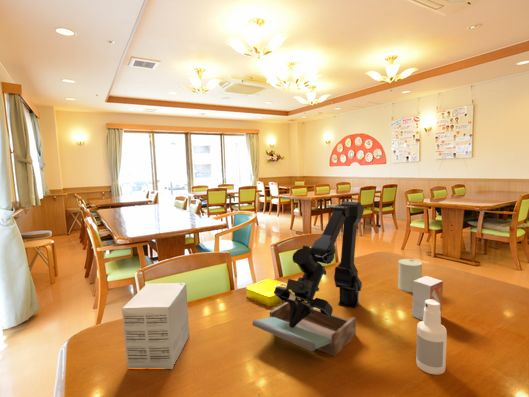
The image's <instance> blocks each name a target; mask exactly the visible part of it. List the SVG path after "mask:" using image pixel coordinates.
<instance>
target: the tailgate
mask: <svg viewBox="0 0 529 397" xmlns="http://www.w3.org/2000/svg"><path fill="white" fill-rule="evenodd" d="M252 326H253V327H255V328H258V329H260V330H261V331H265V332H267V333H269V334H271V335H273V336H276V337H278V338H280V339H283V340H285V341H287V342H289V343H291V344H294V345H297V346H299V347H301V348H304V349H306V350H308V351H310V352H312V353H313V352H315V351H316V350H318V349H317V348H320V347H322V346H324V345H327V344H329V343H330V338H327V337H324V336H322V335H319V334H317V333H314V332H312V331H309V330H306V329H304V328H301V327H299V326H295V327H294V328H291V327H290V326H289V323H288V322H286V321H283V320H281V319H278V318H276V317H270V316H269V317H265V318H261V319H257V318H256V319H254V320H253V321H252Z"/></svg>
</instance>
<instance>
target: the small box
mask: <svg viewBox="0 0 529 397" xmlns="http://www.w3.org/2000/svg"><path fill="white" fill-rule="evenodd" d="M443 288H444V280H441V279H437V278H434V277H431V276H428V275H425V276H422V278H419V279H417V280H414V281H413V293H412V310H411V313H412V314H411V315H412V317H414V318H416V319H418V320H421V321H423V316H424V308H425V300H427V299H433V300H435V301H436V302H438V303H439V304H440V311H441V316H442V309H443Z"/></svg>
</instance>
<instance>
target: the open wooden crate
mask: <svg viewBox="0 0 529 397" xmlns="http://www.w3.org/2000/svg"><path fill="white" fill-rule="evenodd" d="M269 317H276V318H278V319H281V320H283V321H286V322H288V323H289V322H290V304H289V303H288V302H285V301H284V303H282V304H280V305H278V306H277V307H275V308H274V309H272V310H270V311H269ZM356 319H357V318H356V317H355V316H352V317H350V318H349V319H347V318H344V317H341V316H338V315H335V314H333V313H332V314H331V317H329V316H326V315H323V314H321V311H320V309H317V308H313V314H311V313H310V314H309V315H307V316H306V317H305V318H303V319H302V320H301V321H300V322H299V323H298V324H297V325H296V326H299V327H301V328H304V329H306V330H309V331H312V332H314V333H317V334H319V335H322V336H324V337H327V338H330V343H329V344H327V345H324V346H322V347H320V348H317V349H316V350H319V351H321V352H324V353H326V354H328V355H331V356H333V357H336V356H337V355H338V354H339V353H340V352H341V351H342V350H343V349H344V348H345V347H346V346H347V345H348V344H350V342H351V341H352V340H353V339H354V338H355V337H356V336H357V331H356V330H357V325H356V324H357V323H356V322H357V320H356Z"/></svg>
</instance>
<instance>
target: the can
mask: <svg viewBox="0 0 529 397" xmlns="http://www.w3.org/2000/svg"><path fill="white" fill-rule="evenodd" d="M422 269H423V262H422V261H420V260H417V259H413V258H401V259H399V260H398V283H397V284H398V285H397V288H398V289H399V290H401V291H403V292H405V293H412V294H413V281H414V280H417V279H419V278H422V277H423V276H422V274H423V270H422Z"/></svg>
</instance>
